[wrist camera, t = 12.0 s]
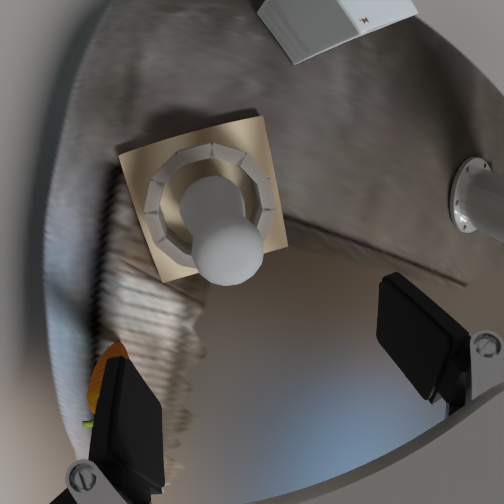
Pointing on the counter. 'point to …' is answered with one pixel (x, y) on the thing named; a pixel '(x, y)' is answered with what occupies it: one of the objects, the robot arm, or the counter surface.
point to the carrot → (101, 376)
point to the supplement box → (327, 22)
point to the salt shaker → (221, 231)
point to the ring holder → (192, 169)
